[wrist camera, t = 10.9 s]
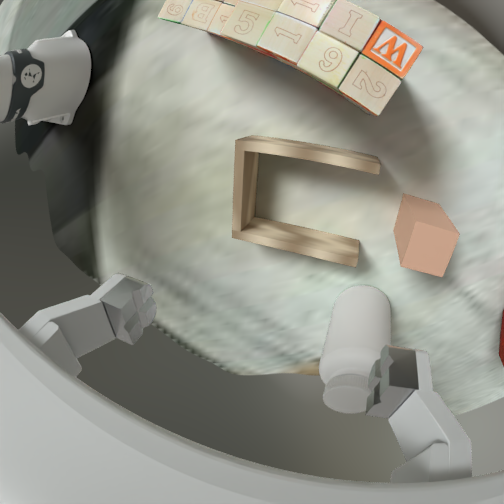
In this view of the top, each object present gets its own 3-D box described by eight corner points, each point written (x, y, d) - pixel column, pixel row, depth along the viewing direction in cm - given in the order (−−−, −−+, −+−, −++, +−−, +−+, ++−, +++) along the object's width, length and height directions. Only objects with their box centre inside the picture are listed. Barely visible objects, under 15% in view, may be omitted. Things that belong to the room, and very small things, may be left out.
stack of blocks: (204, 32, 25) (133, 12, 15) (227, -8, 21) (165, -44, 11) (370, 115, 24) (379, 118, 14) (399, 71, 21) (426, 46, 11)
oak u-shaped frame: (246, 222, 35) (232, 237, 32) (251, 135, 30) (235, 139, 26) (357, 247, 32) (355, 267, 28) (377, 156, 26) (380, 164, 22)
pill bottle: (321, 303, 37) (294, 393, 25) (366, 272, 33) (359, 367, 20) (356, 336, 38) (341, 425, 26) (401, 310, 33) (403, 405, 21)
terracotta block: (393, 230, 29) (400, 266, 22) (403, 193, 27) (415, 220, 20) (427, 239, 28) (442, 277, 21) (438, 204, 25) (459, 234, 19)
